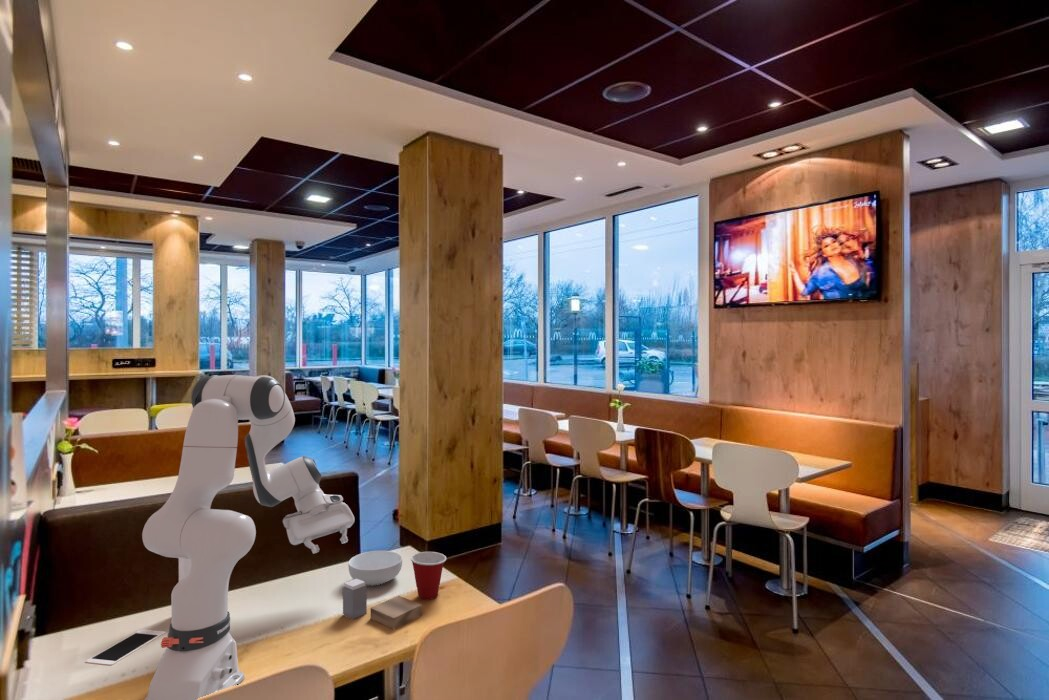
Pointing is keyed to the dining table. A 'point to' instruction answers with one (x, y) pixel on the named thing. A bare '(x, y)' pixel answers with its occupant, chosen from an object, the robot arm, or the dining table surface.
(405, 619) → the base block
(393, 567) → the cereal bowl
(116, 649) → the cell phone
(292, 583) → the dining table surface
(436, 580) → the plastic cup
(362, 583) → the salt shaker
